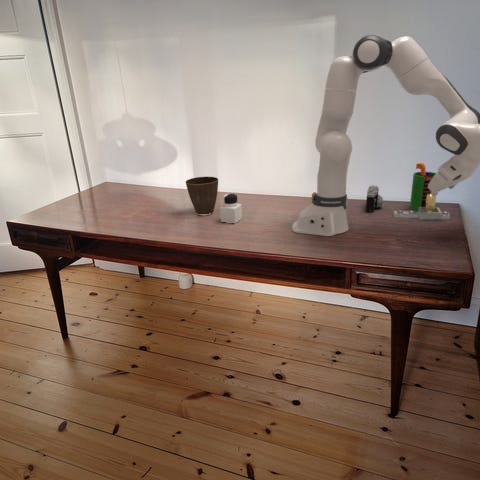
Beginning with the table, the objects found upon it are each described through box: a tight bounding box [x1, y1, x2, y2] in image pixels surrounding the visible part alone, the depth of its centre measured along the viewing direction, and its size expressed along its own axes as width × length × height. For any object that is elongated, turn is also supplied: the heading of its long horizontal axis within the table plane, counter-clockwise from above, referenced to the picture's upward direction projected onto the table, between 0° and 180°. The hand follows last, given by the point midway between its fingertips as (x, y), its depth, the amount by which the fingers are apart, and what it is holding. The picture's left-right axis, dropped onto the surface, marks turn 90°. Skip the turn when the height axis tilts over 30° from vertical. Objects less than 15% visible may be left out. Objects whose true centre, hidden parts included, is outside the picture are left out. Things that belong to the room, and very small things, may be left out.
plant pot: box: [185, 176, 219, 215], centre depth 196 cm, size 15×15×16 cm
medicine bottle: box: [219, 193, 243, 224], centre depth 184 cm, size 7×7×12 cm
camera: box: [365, 185, 384, 214], centre depth 191 cm, size 15×7×10 cm, turn 160°
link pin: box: [425, 194, 437, 212], centre depth 175 cm, size 4×4×9 cm
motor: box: [409, 162, 437, 212], centre depth 185 cm, size 10×9×20 cm
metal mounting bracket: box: [393, 206, 451, 222], centre depth 177 cm, size 22×8×3 cm, turn 74°
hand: (441, 191), depth 159 cm, fingers open, 8 cm apart
